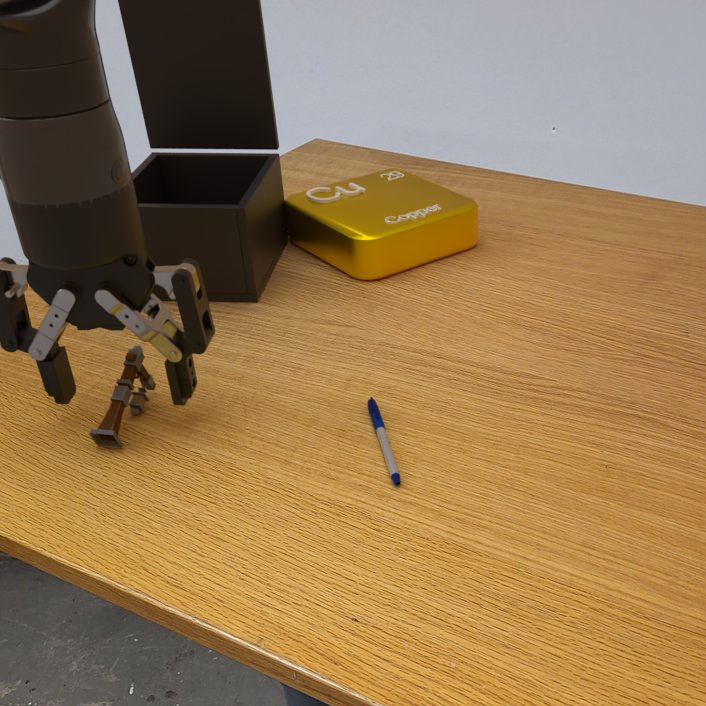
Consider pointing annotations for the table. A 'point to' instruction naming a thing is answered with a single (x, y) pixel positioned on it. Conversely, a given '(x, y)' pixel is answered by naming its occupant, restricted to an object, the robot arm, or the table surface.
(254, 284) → the open black box
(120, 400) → the brown grey angular piece
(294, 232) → the element tile
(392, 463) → the ballpoint pen
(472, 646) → the table surface
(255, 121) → the box lid
